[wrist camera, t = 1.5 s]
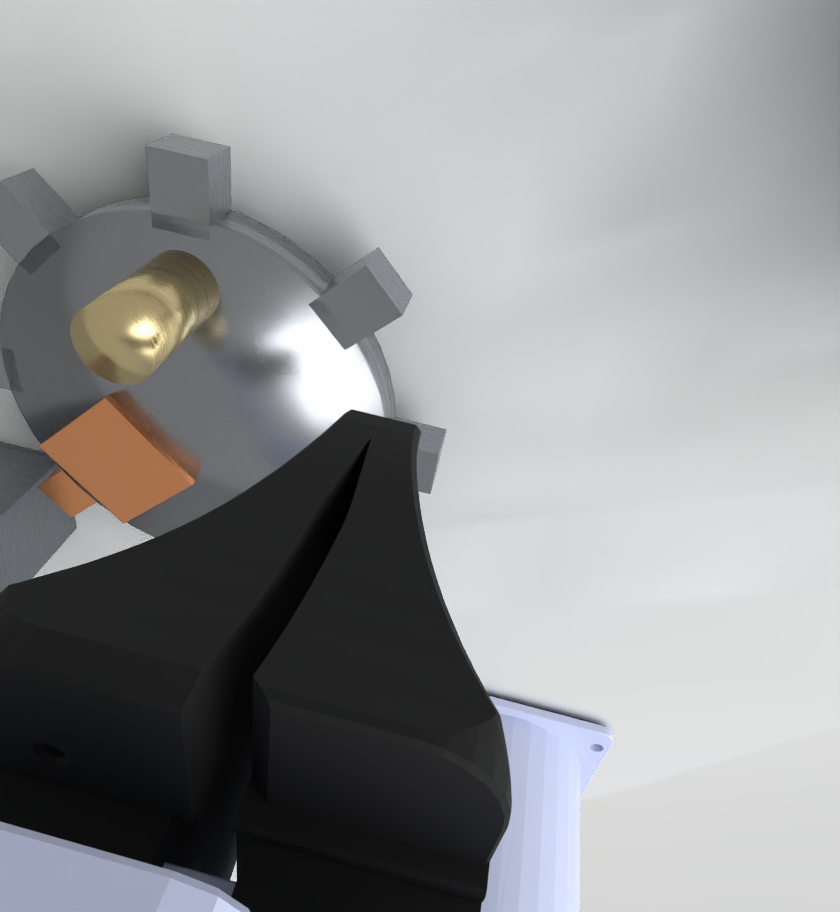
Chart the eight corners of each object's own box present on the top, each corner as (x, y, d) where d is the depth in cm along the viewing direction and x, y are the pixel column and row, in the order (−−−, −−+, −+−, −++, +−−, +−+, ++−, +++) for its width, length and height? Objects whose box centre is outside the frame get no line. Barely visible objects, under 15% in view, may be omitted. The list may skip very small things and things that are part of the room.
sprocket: (406, 606, 24) (376, 719, 20) (31, 509, 24) (-61, 601, 21) (496, 206, 15) (470, 280, 12) (-80, 77, 16) (-264, 111, 13)
